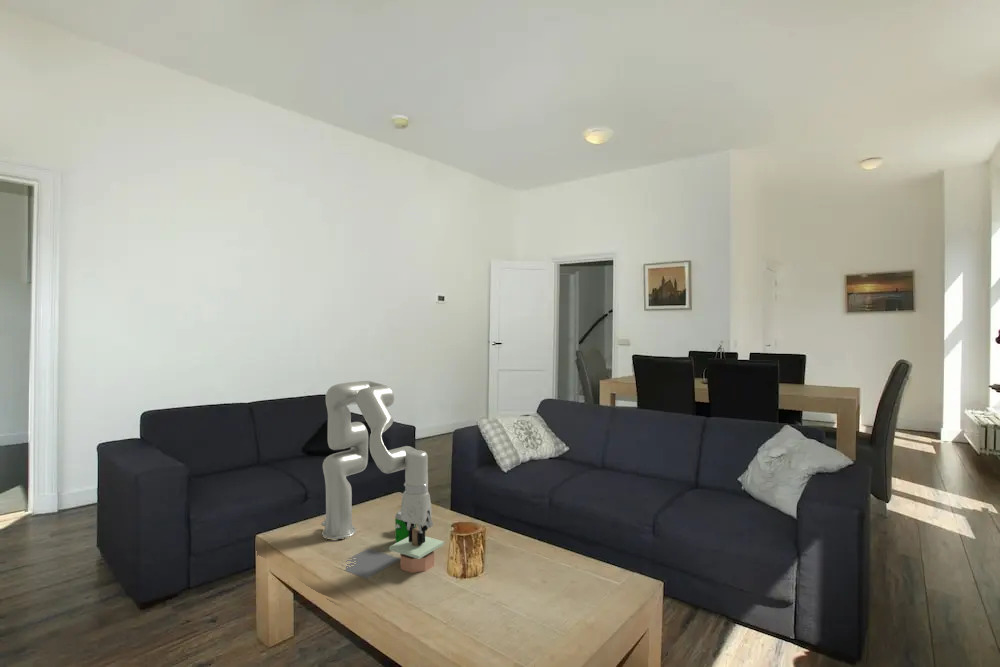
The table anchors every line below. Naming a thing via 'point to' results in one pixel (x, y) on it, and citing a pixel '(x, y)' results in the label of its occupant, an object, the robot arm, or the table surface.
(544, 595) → the table surface
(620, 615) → the table surface
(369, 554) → the mat
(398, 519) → the soda can
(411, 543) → the lid
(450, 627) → the table surface
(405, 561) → the bowl
